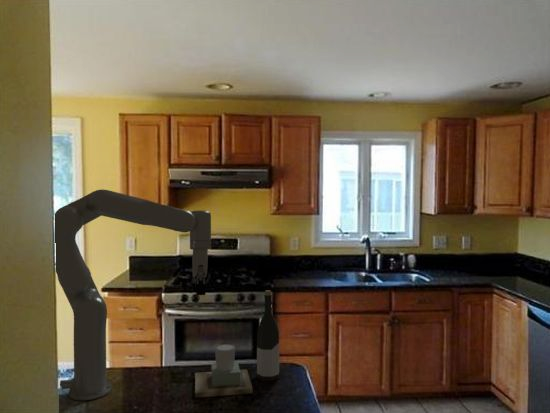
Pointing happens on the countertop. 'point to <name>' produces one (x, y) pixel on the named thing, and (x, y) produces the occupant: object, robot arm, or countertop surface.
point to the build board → (207, 390)
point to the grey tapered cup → (225, 357)
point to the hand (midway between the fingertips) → (200, 292)
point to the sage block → (226, 376)
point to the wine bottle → (268, 344)
